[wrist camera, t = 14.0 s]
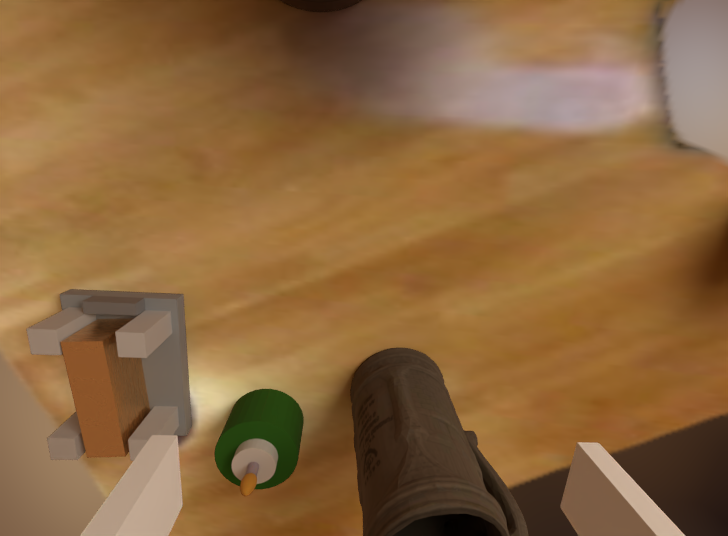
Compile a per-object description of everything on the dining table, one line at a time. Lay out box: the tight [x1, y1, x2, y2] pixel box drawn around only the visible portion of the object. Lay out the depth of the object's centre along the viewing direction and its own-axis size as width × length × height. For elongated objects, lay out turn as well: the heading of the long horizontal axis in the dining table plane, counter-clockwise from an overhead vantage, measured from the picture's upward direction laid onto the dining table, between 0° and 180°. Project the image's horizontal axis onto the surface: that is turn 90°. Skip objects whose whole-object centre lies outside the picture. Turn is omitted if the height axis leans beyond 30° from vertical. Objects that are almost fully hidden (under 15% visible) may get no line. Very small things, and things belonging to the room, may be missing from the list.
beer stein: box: [350, 348, 528, 536], centre depth 33 cm, size 15×11×20 cm
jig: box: [27, 289, 192, 461], centre depth 36 cm, size 16×11×6 cm
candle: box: [215, 389, 303, 496], centre depth 37 cm, size 8×8×10 cm
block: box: [60, 318, 150, 458], centre depth 35 cm, size 12×4×5 cm, turn 0°
